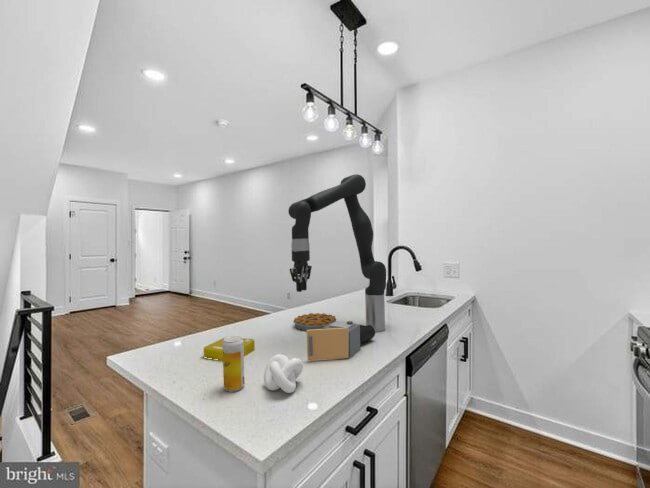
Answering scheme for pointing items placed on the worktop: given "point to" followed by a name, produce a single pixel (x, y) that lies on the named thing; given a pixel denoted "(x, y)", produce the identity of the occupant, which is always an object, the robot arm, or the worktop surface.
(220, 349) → the element tile
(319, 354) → the side door
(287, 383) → the white decorative knot
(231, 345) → the amber medicine vial
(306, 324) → the pie
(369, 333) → the end cap
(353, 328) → the grey matte box
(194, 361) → the worktop surface
